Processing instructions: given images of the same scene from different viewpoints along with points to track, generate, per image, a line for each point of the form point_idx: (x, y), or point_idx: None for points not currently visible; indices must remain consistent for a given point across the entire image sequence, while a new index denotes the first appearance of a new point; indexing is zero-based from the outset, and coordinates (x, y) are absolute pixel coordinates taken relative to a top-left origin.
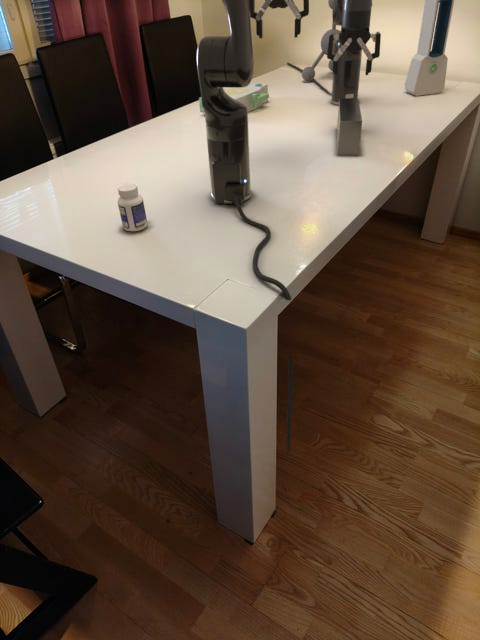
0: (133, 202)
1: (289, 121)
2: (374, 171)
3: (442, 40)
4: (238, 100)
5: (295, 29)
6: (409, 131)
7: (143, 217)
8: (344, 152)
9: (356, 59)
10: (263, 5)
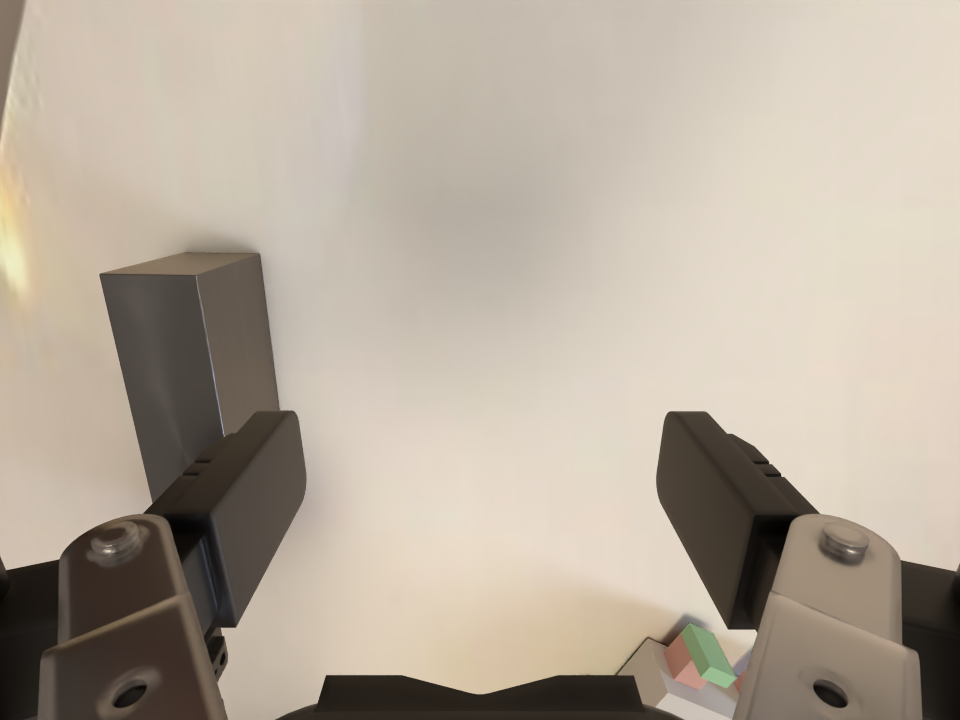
0: None
1: (463, 595)
2: (102, 81)
3: None
4: (657, 693)
5: (252, 446)
6: (45, 492)
7: None
8: (230, 254)
9: None
10: (896, 693)
